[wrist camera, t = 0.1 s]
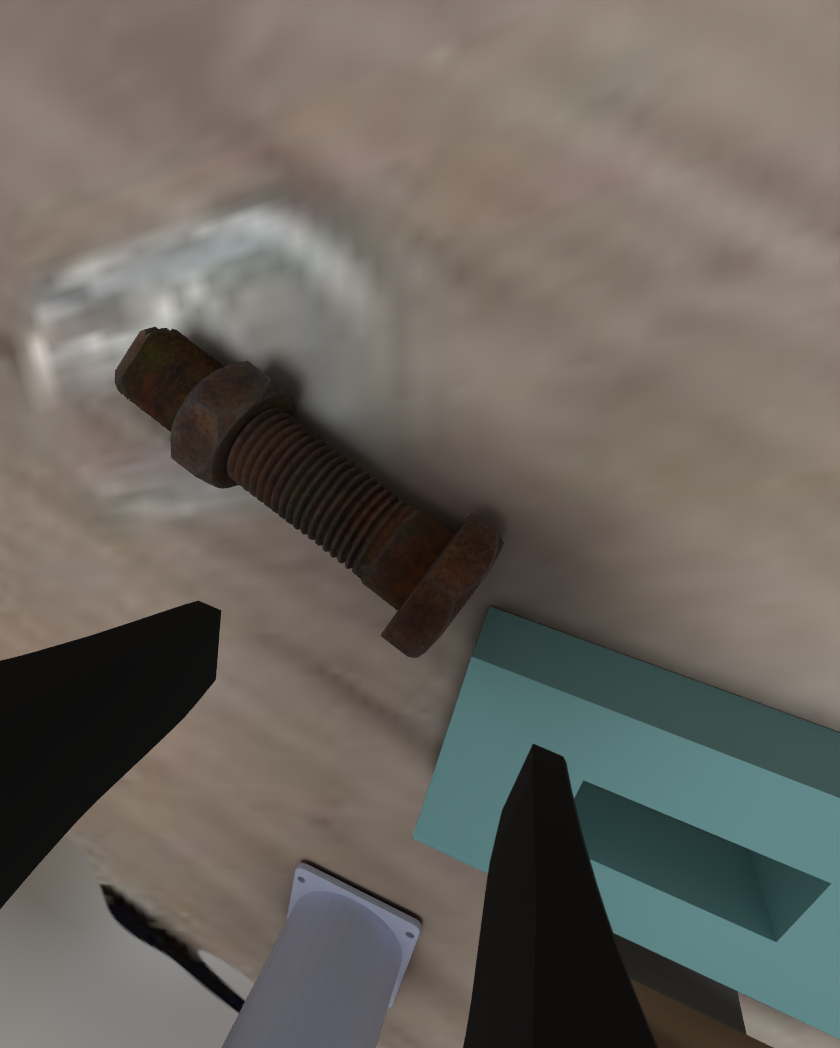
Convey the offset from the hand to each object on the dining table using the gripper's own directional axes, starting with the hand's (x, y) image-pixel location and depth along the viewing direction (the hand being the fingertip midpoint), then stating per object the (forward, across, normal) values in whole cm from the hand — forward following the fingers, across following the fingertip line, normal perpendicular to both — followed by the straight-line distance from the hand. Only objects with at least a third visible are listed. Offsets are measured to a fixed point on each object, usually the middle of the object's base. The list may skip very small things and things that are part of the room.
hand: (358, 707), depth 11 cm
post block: (+10, -11, +8) cm, 17 cm away
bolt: (+10, +6, -1) cm, 12 cm away
